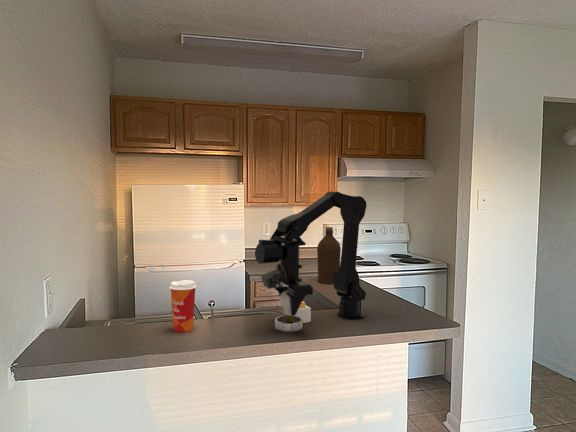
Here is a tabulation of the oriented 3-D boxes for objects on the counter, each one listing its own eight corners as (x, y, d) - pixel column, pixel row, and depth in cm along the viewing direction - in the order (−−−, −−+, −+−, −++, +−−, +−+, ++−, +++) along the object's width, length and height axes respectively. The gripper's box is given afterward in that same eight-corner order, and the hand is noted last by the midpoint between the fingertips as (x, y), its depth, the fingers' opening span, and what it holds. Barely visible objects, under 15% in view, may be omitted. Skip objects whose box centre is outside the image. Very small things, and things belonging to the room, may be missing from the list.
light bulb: (300, 320, 130) (301, 288, 129) (296, 326, 124) (296, 293, 123) (282, 319, 131) (282, 287, 131) (276, 325, 126) (276, 291, 125)
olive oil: (340, 285, 187) (341, 228, 185) (316, 284, 188) (317, 228, 186) (339, 280, 198) (340, 226, 196) (316, 279, 198) (317, 226, 197)
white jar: (303, 317, 138) (303, 303, 138) (310, 321, 134) (310, 306, 134) (289, 319, 136) (289, 304, 136) (296, 323, 132) (296, 308, 131)
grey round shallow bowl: (294, 322, 133) (294, 314, 133) (307, 330, 126) (307, 321, 126) (270, 325, 130) (270, 317, 129) (282, 334, 122) (282, 325, 122)
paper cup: (165, 328, 126) (165, 281, 125) (189, 323, 131) (188, 278, 130) (177, 335, 120) (176, 286, 119) (201, 330, 125) (201, 283, 124)
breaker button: (301, 310, 136) (301, 300, 136) (305, 312, 134) (305, 302, 134) (294, 311, 135) (295, 301, 135) (298, 313, 133) (298, 303, 133)
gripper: (252, 257, 131) (252, 307, 132) (278, 268, 115) (277, 325, 116) (285, 255, 136) (284, 303, 137) (314, 265, 119) (313, 319, 120)
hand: (289, 312), depth 127 cm, fingers open, 5 cm apart
